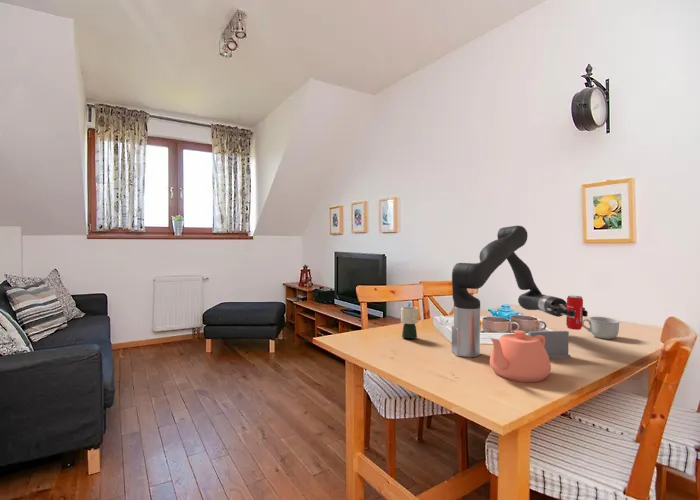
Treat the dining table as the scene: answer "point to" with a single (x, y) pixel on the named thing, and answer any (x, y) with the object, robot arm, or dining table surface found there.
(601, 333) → the teacup
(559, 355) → the screen
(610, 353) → the dining table surface
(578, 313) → the beverage can
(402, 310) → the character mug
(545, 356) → the teapot
